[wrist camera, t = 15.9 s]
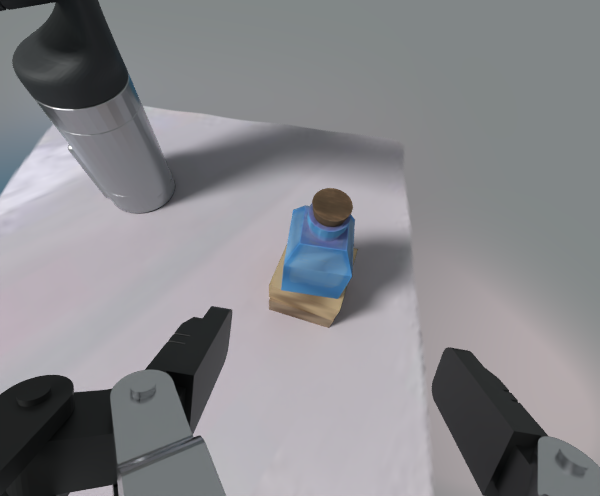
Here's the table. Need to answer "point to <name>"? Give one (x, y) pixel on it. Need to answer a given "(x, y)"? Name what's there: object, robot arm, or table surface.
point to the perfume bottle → (320, 246)
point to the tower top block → (305, 295)
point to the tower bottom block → (298, 313)
